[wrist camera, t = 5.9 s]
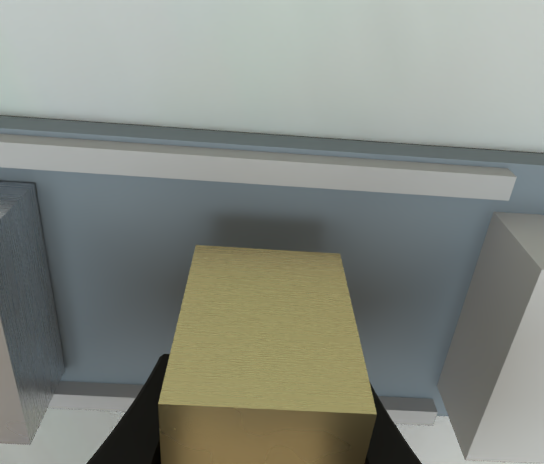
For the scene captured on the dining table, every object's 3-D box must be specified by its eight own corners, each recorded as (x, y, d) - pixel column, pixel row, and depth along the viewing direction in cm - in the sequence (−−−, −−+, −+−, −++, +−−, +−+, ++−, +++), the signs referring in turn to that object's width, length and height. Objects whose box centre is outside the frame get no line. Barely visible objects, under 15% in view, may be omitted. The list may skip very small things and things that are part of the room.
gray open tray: (521, 399, 20) (574, 495, 17) (-56, 371, 19) (-128, 467, 16) (628, 159, 15) (735, 224, 12) (-143, 105, 14) (-277, 159, 11)
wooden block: (312, 418, 16) (329, 600, 11) (195, 413, 16) (167, 594, 11) (339, 253, 13) (376, 414, 9) (195, 244, 13) (158, 404, 8)
